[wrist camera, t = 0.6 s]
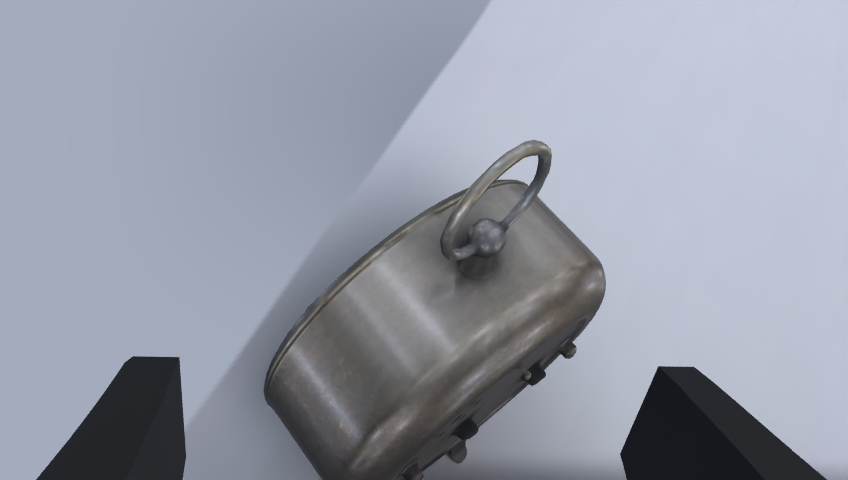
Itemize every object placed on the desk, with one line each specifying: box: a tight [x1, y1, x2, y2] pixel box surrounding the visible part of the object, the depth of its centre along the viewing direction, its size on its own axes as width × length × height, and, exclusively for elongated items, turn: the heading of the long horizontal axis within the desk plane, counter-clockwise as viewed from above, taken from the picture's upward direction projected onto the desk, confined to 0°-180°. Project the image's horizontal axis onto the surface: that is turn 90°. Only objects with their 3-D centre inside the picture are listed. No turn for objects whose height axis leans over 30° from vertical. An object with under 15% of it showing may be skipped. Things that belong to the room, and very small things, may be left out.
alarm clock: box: [264, 140, 606, 480], centre depth 21 cm, size 11×5×16 cm, turn 129°
